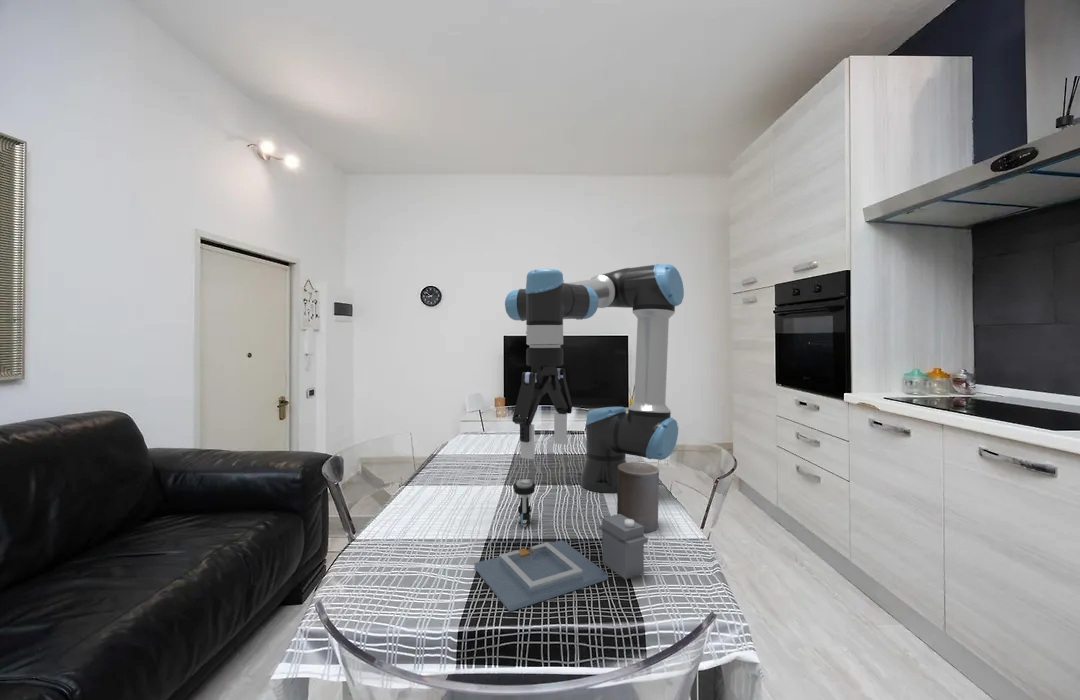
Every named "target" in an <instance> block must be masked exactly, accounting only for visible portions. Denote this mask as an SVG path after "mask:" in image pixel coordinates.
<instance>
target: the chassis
mask: <svg viewBox="0 0 1080 700" xmlns="http://www.w3.org/2000/svg"><path fill="white" fill-rule="evenodd" d="M473 568H474V569H475V571H476V572H477V573H478V574H479V576H480V577H481V578H482V580H483V581H484V582H485V584H486V585H487V586H488V587H489V589H490V590H491V591H492V593H494V595H495V596H496V597H497V599H499V601H500V602H501V603H502V605H503V606H504V607H505V608H506V610H507V611H508V612H509V613H511V612H513V611H517V610H520V609H523V608H526V607H530V606H533V605H535V604H538V603H541V602H544V601H546V600H547V601H548V600H550V599H551V600H552V599H554V598H556V597H559V596H562V595H565V594H568V593H572V592H574V591H578V590H581V589H583V588H587V587H590V586H593V585H596V584H599V583H602V582H605V581H608V580H609V574H608V573H607V572H606V571H604V570H603V569H602V568H601V567H599V566H598V565H596V564H595V563H594V562H592V561H591V560H590V559H589V558H587V556H584V555H583V554H582V553H580V552H579V551H578V550H576V549H575V548H574V547H572V545H570V544H568V543H567V542H565V541H564V540H563V539H562V540H556V541H555V542H550V543H549V542H543V543H540V544H535V545H532V546H530V548H525V547H524V548H520V549H517V550H513V551H509V552H505V553H501V554H499V555H498V557H497V556H496V557H493V558H489V559H486V560H481V561H479V562H475V563H474V567H473Z"/></svg>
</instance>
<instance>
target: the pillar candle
mask: <svg viewBox="0 0 1080 700" xmlns="http://www.w3.org/2000/svg"><path fill="white" fill-rule="evenodd" d="M659 476H660V469H659V468H658V466H656V465H654V464H651V463H645V462H638V461H629V462H628V461H626V463H622V464H620V465H618V478H617V492H616V493H617V494H616V495H617V497H616V498H617V499H616V500H617V502H616V503H617V506H616V507H617V508H616V510H617V511H616V513H617V514H621V515H623V516H625V517H627V518H629V519H632V520H634V521H635V522H636V523H638V524H640V525H642V526H644V534H649V533H653V532H654V531H656V530H657V529H658V528H659V488H660V487H659V483H660V482H659V481H660V480H659V479H660V477H659ZM617 514H616V515H617Z"/></svg>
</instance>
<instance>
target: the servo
mask: <svg viewBox="0 0 1080 700" xmlns="http://www.w3.org/2000/svg"><path fill="white" fill-rule="evenodd" d="M601 520H602V522H601V523H602V524H599V525H598V530H600V531H601V532H602V534H601V535H602V539H601V540H602V541H601V542H602V545H601V546H602V551H601V553H602V558H601V559H602V560H601V561H602V564H603V565H605V566H606V567H608V568H609V569H610V570H611V571H613V572H614V573H615V574H617V575H619V576H620V577H621V578H622V579H624V580H626V581H627V580H628V579H631V578H634V577H638V576H640V575H643V574H644V567H645V565H644V564H645V561H644V560H645V559H644V557H645V552H644V551H645V546H644V545H645V544H646V543H649V538H648V537H646V536H644V535H645V533H644V526H642V525H640V524H638V523H636V522H635V521H634V520H632V519H629V518H627V517H625V516H623V515H621V514H613V515H610V516H606V517H605V516H604V517H602V518H601Z"/></svg>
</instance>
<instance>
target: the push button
mask: <svg viewBox="0 0 1080 700" xmlns="http://www.w3.org/2000/svg"><path fill="white" fill-rule="evenodd" d="M512 488H513V489H514V493H515V494H516V495H518V496H520V504H519V506H518V507H517V508H518V509H517V510H518V511H517V512H518V513H519V514H518V523H519V522H520V526H521V527H522V528H526V527H528V526H529V522H530V523H531V518H532V514H531V512H532V507H531V505H529V503H530V502H529V500H530V499H529V496H530V495H532V494H534V493H535V489H536V484H535V483H534V482H533V481H532V479H529V478H528V479H527V478H520V479H517V481H516V482H515V483H514V484H513V487H512Z"/></svg>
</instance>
